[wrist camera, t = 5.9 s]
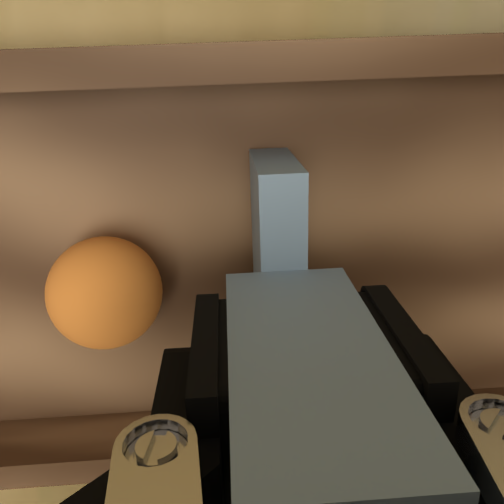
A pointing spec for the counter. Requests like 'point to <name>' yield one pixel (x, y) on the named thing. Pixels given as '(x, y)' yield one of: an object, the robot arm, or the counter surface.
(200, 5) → the counter surface
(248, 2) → the counter surface
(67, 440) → the lane
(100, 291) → the ball
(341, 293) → the grey block with post
